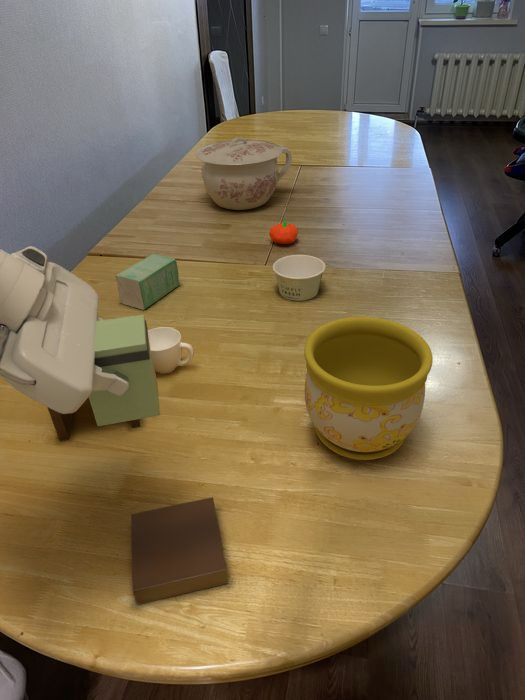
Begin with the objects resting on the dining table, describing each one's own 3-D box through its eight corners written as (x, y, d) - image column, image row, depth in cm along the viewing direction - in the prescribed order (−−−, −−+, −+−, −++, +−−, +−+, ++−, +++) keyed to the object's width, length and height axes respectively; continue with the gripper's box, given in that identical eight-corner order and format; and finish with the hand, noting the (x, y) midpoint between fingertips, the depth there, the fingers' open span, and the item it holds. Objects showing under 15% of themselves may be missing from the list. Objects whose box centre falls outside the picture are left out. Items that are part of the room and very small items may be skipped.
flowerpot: (438, 430, 83) (457, 347, 73) (371, 495, 73) (383, 409, 63) (349, 381, 94) (355, 303, 84) (280, 433, 84) (278, 351, 74)
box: (181, 285, 126) (176, 256, 122) (145, 311, 117) (139, 281, 112) (157, 279, 129) (152, 251, 125) (120, 304, 120) (113, 275, 116)
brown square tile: (228, 583, 63) (226, 569, 61) (137, 605, 61) (132, 591, 60) (215, 510, 72) (213, 496, 70) (134, 527, 70) (130, 513, 68)
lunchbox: (161, 416, 59) (146, 343, 53) (96, 427, 58) (74, 354, 52) (158, 382, 64) (144, 313, 58) (98, 392, 63) (78, 323, 57)
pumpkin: (269, 237, 147) (269, 216, 144) (297, 237, 147) (297, 215, 143) (269, 248, 142) (268, 226, 138) (298, 247, 141) (298, 225, 137)
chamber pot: (186, 214, 164) (178, 147, 152) (219, 187, 185) (214, 125, 173) (270, 222, 157) (268, 151, 145) (294, 192, 178) (294, 128, 166)
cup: (153, 353, 103) (147, 325, 99) (201, 357, 101) (197, 329, 97) (138, 378, 97) (132, 348, 93) (189, 382, 95) (185, 353, 91)
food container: (267, 300, 119) (266, 274, 115) (281, 276, 128) (280, 252, 124) (318, 306, 115) (319, 280, 112) (329, 281, 125) (330, 256, 121)
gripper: (2, 338, 41) (145, 408, 49) (35, 239, 58) (139, 303, 65) (-37, 390, 43) (107, 451, 50) (6, 280, 60) (110, 338, 67)
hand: (125, 367), depth 58 cm, fingers closed on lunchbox, 6 cm apart
